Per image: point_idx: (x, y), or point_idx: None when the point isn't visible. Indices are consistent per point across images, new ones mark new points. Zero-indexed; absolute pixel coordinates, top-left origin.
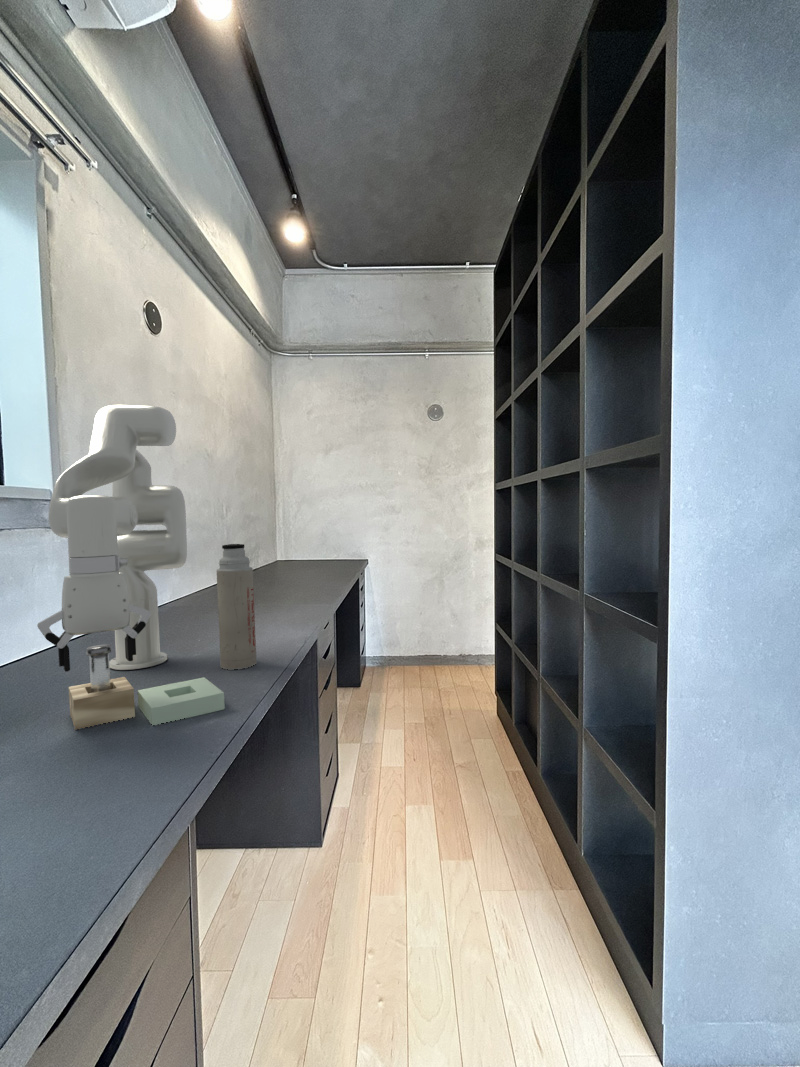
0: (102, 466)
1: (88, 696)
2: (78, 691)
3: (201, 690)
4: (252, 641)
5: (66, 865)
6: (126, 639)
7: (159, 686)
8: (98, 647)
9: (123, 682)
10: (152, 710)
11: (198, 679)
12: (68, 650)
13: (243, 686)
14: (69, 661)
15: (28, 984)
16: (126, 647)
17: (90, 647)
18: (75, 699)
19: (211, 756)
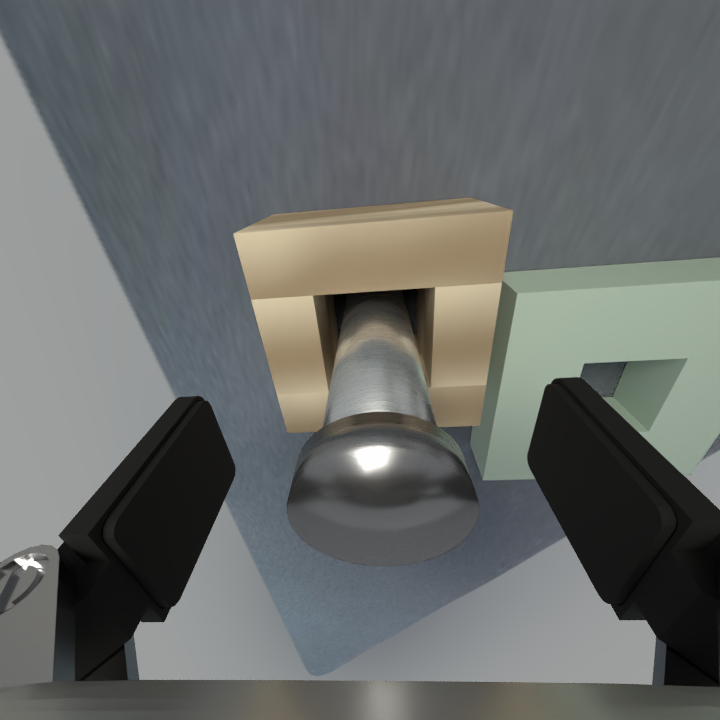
0: None
1: None
2: (291, 344)
3: (669, 426)
4: None
5: (325, 635)
6: (623, 576)
7: (608, 293)
8: (379, 522)
9: (474, 323)
10: (482, 474)
11: None
12: (178, 592)
13: None
14: (215, 514)
15: (316, 674)
16: (580, 493)
17: (318, 495)
18: (292, 430)
19: (495, 572)
